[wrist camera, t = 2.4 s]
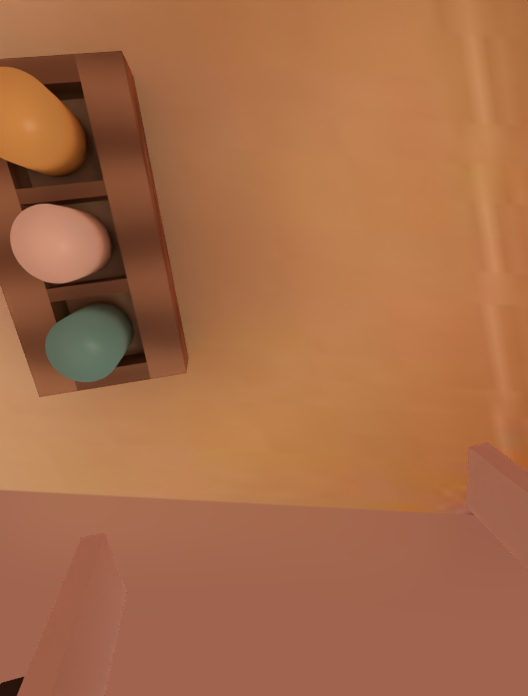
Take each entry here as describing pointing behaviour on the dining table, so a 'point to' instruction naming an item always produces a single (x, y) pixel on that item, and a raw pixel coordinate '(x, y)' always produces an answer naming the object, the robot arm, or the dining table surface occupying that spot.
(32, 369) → the wooden compartment tray
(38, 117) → the orange rounded ball
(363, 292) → the dining table surface
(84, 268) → the pink round piece
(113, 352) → the teal egg
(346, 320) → the dining table surface
